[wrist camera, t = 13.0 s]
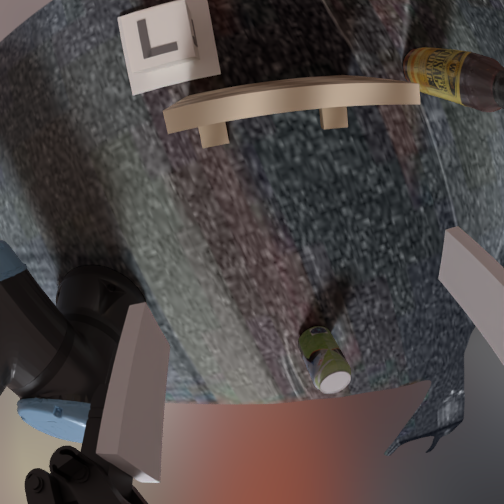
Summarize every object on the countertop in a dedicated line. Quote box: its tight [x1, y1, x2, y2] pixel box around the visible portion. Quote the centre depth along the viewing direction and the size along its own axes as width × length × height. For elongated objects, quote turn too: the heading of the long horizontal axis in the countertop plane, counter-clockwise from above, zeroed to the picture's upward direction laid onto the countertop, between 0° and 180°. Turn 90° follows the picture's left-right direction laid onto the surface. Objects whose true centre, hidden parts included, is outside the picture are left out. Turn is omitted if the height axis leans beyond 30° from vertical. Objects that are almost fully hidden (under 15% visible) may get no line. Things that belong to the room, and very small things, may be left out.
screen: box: [163, 75, 420, 148], centre depth 27 cm, size 18×6×16 cm, turn 99°
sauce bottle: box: [403, 47, 504, 112], centre depth 23 cm, size 7×6×20 cm
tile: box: [118, 0, 221, 95], centre depth 28 cm, size 10×10×1 cm
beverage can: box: [298, 326, 351, 394], centre depth 48 cm, size 6×7×12 cm
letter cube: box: [121, 0, 200, 73], centre depth 25 cm, size 6×6×6 cm
